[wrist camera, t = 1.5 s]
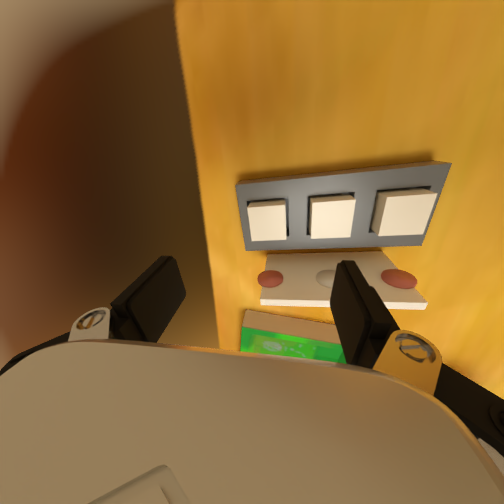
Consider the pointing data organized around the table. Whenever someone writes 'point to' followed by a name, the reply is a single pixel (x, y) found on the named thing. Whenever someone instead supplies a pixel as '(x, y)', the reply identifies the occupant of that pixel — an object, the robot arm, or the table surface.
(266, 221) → the button
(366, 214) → the button panel
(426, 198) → the button
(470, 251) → the table surface
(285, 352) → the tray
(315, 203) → the middle button
